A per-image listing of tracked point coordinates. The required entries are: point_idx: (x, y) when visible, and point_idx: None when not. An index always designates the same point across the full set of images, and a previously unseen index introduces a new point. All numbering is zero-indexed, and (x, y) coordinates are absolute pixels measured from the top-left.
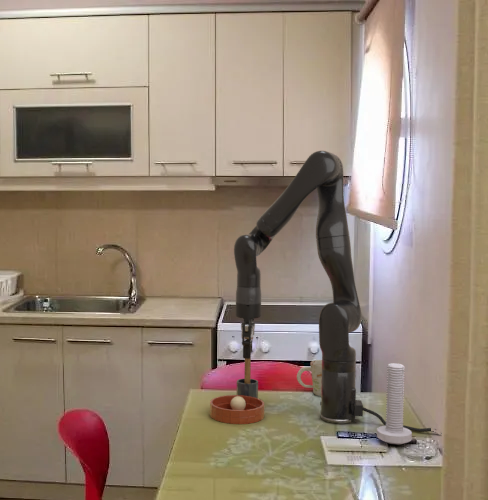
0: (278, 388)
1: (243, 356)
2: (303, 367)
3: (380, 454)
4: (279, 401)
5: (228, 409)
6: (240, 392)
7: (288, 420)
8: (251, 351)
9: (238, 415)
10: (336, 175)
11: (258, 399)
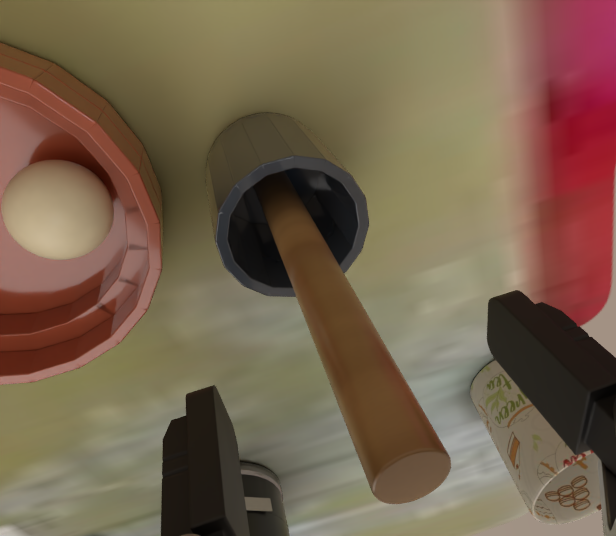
0: (569, 218)
1: (188, 406)
2: None
3: None
4: (367, 288)
5: None
6: (214, 184)
7: (113, 402)
8: (492, 350)
9: None
10: None
11: (121, 324)
